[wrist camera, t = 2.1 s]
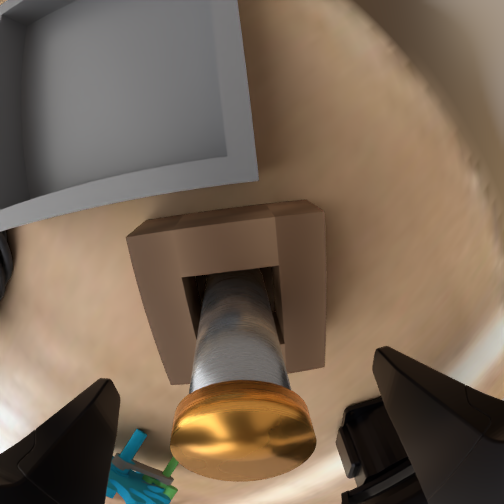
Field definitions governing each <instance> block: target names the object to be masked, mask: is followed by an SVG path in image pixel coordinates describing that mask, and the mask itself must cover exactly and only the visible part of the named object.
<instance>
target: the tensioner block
mask: <svg viewBox="0 0 504 504" xmlns="http://www.w3.org/2000/svg"><path fill="white" fill-rule="evenodd" d="M126 241H127V245H128V249H129V253H130V258H131V262H132V266H133V269H134V273H135V277H136V281H137V284H138V288H139V292H140V295H141V299H142V302H143V305H144V309H145V312H146V315H147V318H148V322H149V325H150V328H151V331H152V334H153V337H154V340H155V343H156V346H157V349H158V351H159V354H160V357H161V360H162V363H163V365H164V368H165V371H166V373H167V376H168V378H169V381H170V384H171V385H180V384H190V382H191V375H192V368H193V361H194V355H195V348H196V341H197V335H198V329H199V322H200V316H201V310H202V307H201V303H200V298H199V293H198V288H197V283H196V278H195V276H197V275H206V274H214V273H222V272H230V271H238V270H246V269H254V268H262V267H269V266H272V274H273V285H274V297H275V308H276V312H272V315H273V319H274V323H275V327H276V331H277V335H278V339H279V343H280V347H281V351H282V355H283V359H284V363H285V367H286V371H287V374H288V373H294V372H300V371H306V370H311V369H317V368H322V367H324V366H325V343H326V232H325V212H324V211H323V210H321V209H320V208H318V207H317V206H315V205H314V204H312V203H311V202H309V201H307V200H297V201H287V202H278V203H269V204H260V205H252V206H243V207H235V208H227V209H220V210H212V211H205V212H198V213H191V214H184V215H177V216H171V217H164V218H158V219H152V220H146V221H144V222H143V223H142V224H141V225H140V226H138V227H137V228H136V229H135V230H134V231H133V232H131V233H130V234H129V235H128V236H127V237H126Z"/></svg>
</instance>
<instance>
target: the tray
mask: <svg viewBox="0 0 504 504" xmlns="http://www.w3.org/2000/svg"><path fill="white" fill-rule="evenodd" d="M253 181H259V176H258V167H257V158H256V149H255V140H254V131H253V122H252V113H251V105H250V96H249V88H248V80H247V72H246V64H245V56H244V48H243V40H242V32H241V24H240V17H239V9H238V2H237V0H7V1H6V2H4V3H3V4H1V5H0V232H1V231H4V230H7V229H11V228H14V227H18V226H21V225H25V224H29V223H32V222H36V221H40V220H44V219H48V218H51V217H55V216H59V215H64V214H68V213H72V212H76V211H81V210H85V209H89V208H94V207H99V206H103V205H108V204H113V203H118V202H123V201H128V200H133V199H139V198H144V197H150V196H155V195H161V194H167V193H173V192H179V191H186V190H192V189H199V188H206V187H213V186H220V185H228V184H236V183H244V182H253Z"/></svg>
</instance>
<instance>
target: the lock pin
mask: <svg viewBox="0 0 504 504" xmlns="http://www.w3.org/2000/svg"><path fill="white" fill-rule="evenodd" d="M315 447H316V436H315V433H314V429H313V426H312V422H311V419H310V415H309V412H308V409H307V405H306V404H305V402H304V401H303V399H302V398H301V397H300V396H299V395H297V394H296V393H295V392H293V391H291V387H290V383H289V379H288V375H287V371H286V367H285V363H284V359H283V355H282V351H281V347H280V343H279V339H278V335H277V331H276V327H275V323H274V319H273V315H272V311H271V307H270V303H269V299H268V295H267V291H266V287H265V283H264V279H263V276H262V273H261V271H260V270H259V268H254V269H246V270H238V271H230V272H222V273H214V274H208V276H207V281H206V287H205V292H204V298H203V304H202V310H201V316H200V322H199V329H198V335H197V341H196V348H195V355H194V361H193V368H192V375H191V382H190V390H189V395H187V396H186V397H185V398H184V399H183V400H182V401H181V402H180V403H179V405H178V406H177V408H176V411H175V415H174V422H173V428H172V434H171V441H170V449H171V453H172V455H173V456H174V458H175V459H176V460H177V461H178V462H179V463H180V464H181V465H182V466H184V467H185V468H187V469H188V470H190V471H192V472H194V473H197V474H199V475H202V476H205V477H209V478H212V479H218V480H224V481H255V480H262V479H267V478H271V477H275V476H278V475H281V474H284V473H286V472H289V471H291V470H293V469H295V468H296V467H298V466H300V465H301V464H302V463H304V462H305V461H306V460H307V459H308V458H309V457H310V456H311V455H312V453H313V452H314V450H315Z"/></svg>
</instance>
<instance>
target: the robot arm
mask: <svg viewBox="0 0 504 504" xmlns="http://www.w3.org/2000/svg"><path fill="white" fill-rule="evenodd" d="M373 374H374V376H375V379H376V382H377V385H378V388H379V391H380V393H381V396H382V397H381V398H378V399H375V400H371V401H368V402H364V403H361V404H357V405H353V406H350V407H348V408H346V409H345V410H344V415H343V420H342V426H341V427H340V428H339V430H338V435H337V440H336V446H337V449H338V452H339V455H340V458H341V461H342V464H343V467H344V470H345V473H346V476H347V477H348V478H355V481H356V484H357V488H355V489H353V490H350V491H346V492H344V493H342V494H341V496H342V504H504V401H503V400H500V399H497V398H494V397H492V396H489V395H487V394H484V393H482V392H480V391H478V390H475V389H473V388H471V387H469V386H467V385H466V386H465V384H463V383H461V382H459V381H457V380H455V379H452V378H450V377H448V376H446V375H444V374H442V373H440V372H438V371H436V370H434V369H432V368H430V367H428V366H426V365H424V364H422V363H420V362H418V361H416V360H414V359H412V358H410V357H408V356H406V355H404V354H402V353H400V352H398V351H396V350H394V349H393V348H391V347H388V346H384V347H381V348H377V349H376V351H375V355H374V361H373ZM119 408H120V395H119V393H118V391H117V389H116V388H115V386H114V384H113V382H112V380H111V379H108V378H100V379H98V380H97V381H96V382H94V383H93V384H92V385H91V386H89V387H88V388H87V389H86V390H84V391H83V392H82V393H81V394H79V395H78V396H77V397H76V398H74V399H73V400H72V401H71V402H69V403H68V404H67V405H66V406H64V407H63V408H62V409H60V410H59V411H58V412H57V413H55V414H54V415H53V416H52V417H50V418H49V419H48V420H47V421H45V422H44V423H43V424H42V425H40V426H39V427H38V428H36V430H34V431H33V432H31V433H30V434H29V435H28V436H26V437H25V438H24V439H22V440H21V441H20V442H18V443H17V444H15V445H14V446H12V447H11V448H9V449H7V450H6V451H4V452H3V453H1V454H0V504H105V498H106V491H107V485H108V478H109V473H110V467H111V462H112V456H113V451H114V446H115V441H116V436H117V427H118V417H119Z"/></svg>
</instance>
